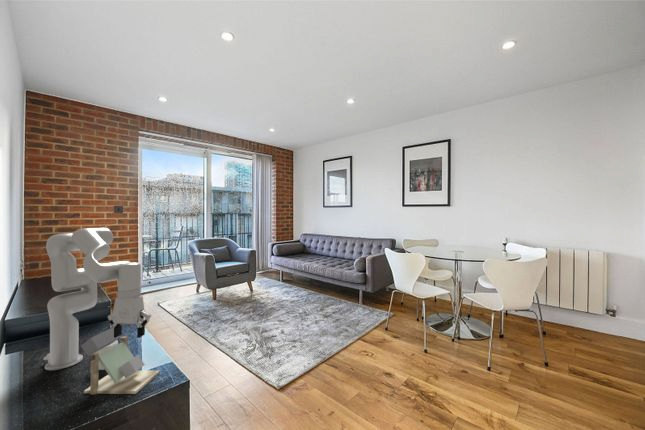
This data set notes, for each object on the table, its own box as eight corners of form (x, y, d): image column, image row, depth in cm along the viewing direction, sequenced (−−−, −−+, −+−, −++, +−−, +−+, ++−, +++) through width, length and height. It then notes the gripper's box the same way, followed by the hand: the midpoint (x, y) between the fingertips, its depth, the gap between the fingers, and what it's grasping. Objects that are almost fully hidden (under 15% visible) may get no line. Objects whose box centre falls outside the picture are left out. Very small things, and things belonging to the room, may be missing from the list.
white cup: (121, 363, 122) (122, 341, 123) (102, 372, 115) (103, 348, 115) (110, 360, 125) (110, 338, 125) (90, 369, 118) (91, 346, 118)
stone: (118, 367, 105) (129, 360, 105) (128, 361, 110) (138, 354, 110) (125, 378, 105) (135, 371, 105) (135, 371, 110) (144, 364, 110)
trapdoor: (79, 346, 102) (89, 338, 102) (106, 333, 114) (115, 326, 114) (108, 387, 101) (118, 379, 101) (132, 370, 113) (141, 363, 113)
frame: (80, 395, 99) (81, 354, 100) (117, 370, 116) (117, 335, 116) (132, 396, 98) (132, 355, 99) (162, 371, 115) (162, 335, 116)
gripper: (100, 296, 105) (100, 340, 104) (143, 296, 104) (143, 340, 103) (116, 291, 112) (116, 332, 112) (156, 291, 111) (156, 332, 111)
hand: (129, 336), depth 108 cm, fingers open, 9 cm apart
